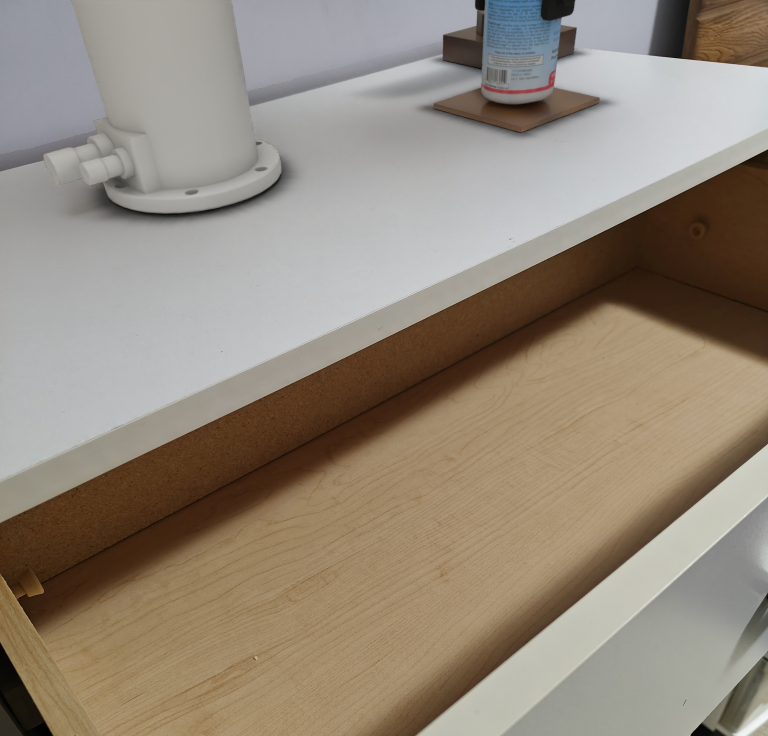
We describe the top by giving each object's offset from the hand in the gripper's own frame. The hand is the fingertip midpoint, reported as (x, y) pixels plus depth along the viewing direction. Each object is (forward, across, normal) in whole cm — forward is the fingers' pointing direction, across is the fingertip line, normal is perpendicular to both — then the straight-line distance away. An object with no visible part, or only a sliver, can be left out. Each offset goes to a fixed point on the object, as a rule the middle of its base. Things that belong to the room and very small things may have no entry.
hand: (523, 9), depth 53 cm
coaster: (+7, 0, 0) cm, 7 cm away
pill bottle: (+6, 0, 0) cm, 6 cm away
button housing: (+7, -12, +12) cm, 18 cm away
